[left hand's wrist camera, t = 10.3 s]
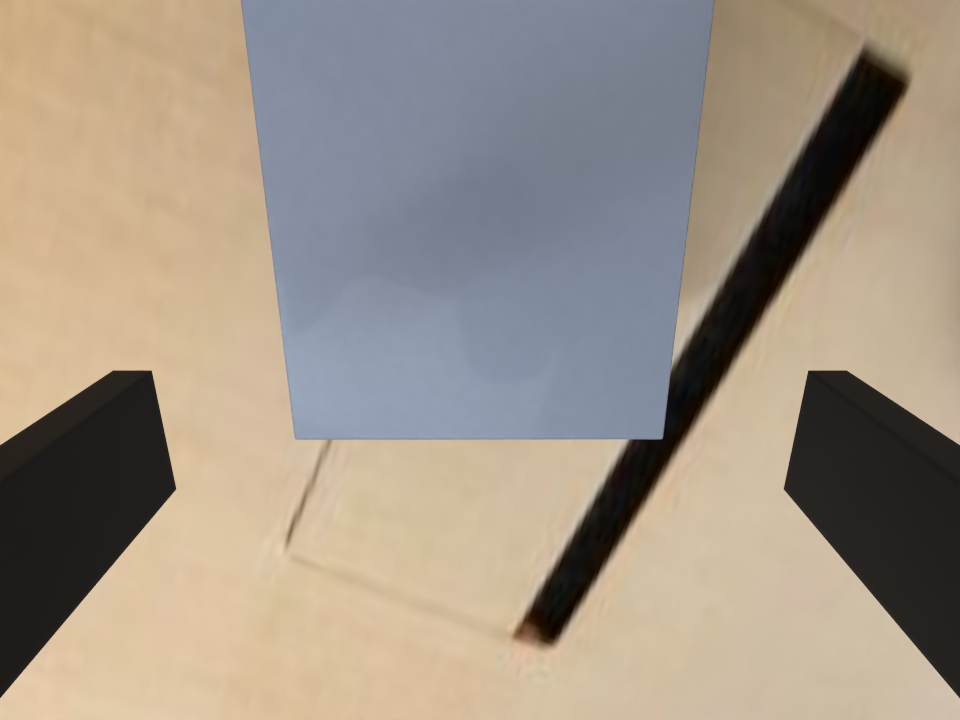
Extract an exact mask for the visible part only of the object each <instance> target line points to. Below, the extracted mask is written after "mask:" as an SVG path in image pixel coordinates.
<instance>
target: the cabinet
mask: <svg viewBox="0 0 960 720" xmlns="http://www.w3.org/2000/svg"><path fill="white" fill-rule="evenodd" d="M714 1H715V0H241V5H242V13H243V21H244V29H245V37H246V45H247V54H248V62H249V70H250V78H251V86H252V94H253V102H254V110H255V118H256V127H257V135H258V143H259V151H260V159H261V167H262V175H263V183H264V191H265V200H266V208H267V216H268V224H269V232H270V240H271V248H272V256H273V264H274V273H275V281H276V289H277V297H278V305H279V313H280V321H281V329H282V337H283V345H284V354H285V362H286V370H287V378H288V386H289V394H290V402H291V410H292V418H293V427H294V435H295V439H297V440H362V439H662V438H663V431H664V423H665V414H666V406H667V397H668V389H669V380H670V372H671V364H672V355H673V347H674V338H675V330H676V321H677V313H678V305H679V296H680V288H681V279H682V271H683V262H684V254H685V246H686V237H687V229H688V220H689V212H690V203H691V195H692V187H693V178H694V170H695V161H696V153H697V144H698V136H699V128H700V119H701V111H702V102H703V94H704V85H705V77H706V69H707V60H708V52H709V43H710V35H711V26H712V18H713V10H714Z"/></svg>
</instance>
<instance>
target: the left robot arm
mask: <svg viewBox="0 0 960 720" xmlns="http://www.w3.org/2000/svg"><path fill="white" fill-rule="evenodd" d="M175 490H176V486H175V481H174V476H173V471H172V466H171V462H170V457H169V452H168V447H167V442H166V438H165V433H164V428H163V423H162V418H161V414H160V409H159V404H158V399H157V394H156V389H155V385H154V380H153V375H152V371H112V372H110V373H109V374H107V375H106V376H104V377H103V378H101V379H100V380H98V381H97V382H95V383H94V384H92V385H91V386H89V387H88V388H86V389H85V390H83V391H82V392H80V393H79V394H77V395H76V396H74V397H73V398H71V399H70V400H68V401H67V402H65V403H64V404H62V405H61V406H59V407H58V408H56V409H54V410H53V411H51V412H50V413H48V414H47V415H45V416H44V417H42V418H41V419H39V420H38V421H36V422H35V423H33V424H32V425H30V426H29V427H27V428H26V429H24V430H23V431H21V432H20V433H18V434H17V435H15V436H14V437H12V438H11V439H9V440H8V441H6V442H5V443H3V444H1V445H0V698H1V697H2V695H3V694H4V693H5V692H6V691H7V689H8V688H9V687H10V686H11V685H12V683H13V682H14V681H15V680H16V679H17V678H18V676H19V675H20V674H21V673H22V672H23V670H24V669H25V668H26V667H27V666H28V664H29V663H30V662H31V661H32V660H33V659H34V657H35V656H36V655H37V654H38V653H39V651H40V650H41V649H42V648H43V647H44V645H45V644H46V643H47V642H48V641H49V640H50V638H51V637H52V636H53V635H54V634H55V632H56V631H57V630H58V629H59V628H60V626H61V625H62V624H63V623H64V622H65V621H66V619H67V618H68V617H69V616H70V615H71V613H72V612H73V611H74V610H75V609H76V607H77V606H78V605H79V604H80V603H81V602H82V600H83V599H84V598H85V597H86V596H87V594H88V593H89V592H90V591H91V590H92V588H93V587H94V586H95V585H96V584H97V583H98V581H99V580H100V579H101V578H102V577H103V575H104V574H105V573H106V572H107V571H108V569H109V568H110V567H111V566H112V565H113V564H114V562H115V561H116V560H117V559H118V558H119V556H120V555H121V554H122V553H123V552H124V550H125V549H126V548H127V547H128V546H129V545H130V543H131V542H132V541H133V540H134V539H135V537H136V536H137V535H138V534H139V533H140V532H141V530H142V529H143V528H144V527H145V526H146V524H147V523H148V522H149V521H150V520H151V518H152V517H153V516H154V515H155V514H156V513H157V511H158V510H159V509H160V508H161V507H162V505H163V504H164V503H165V502H166V501H167V499H168V498H169V497H170V496H171V495H172V494H173V492H174V491H175ZM784 490H785V491H786V492H787V494H788V495H789V496H790V497H791V498H792V499H793V501H794V502H795V503H796V504H797V505H798V507H799V508H800V509H801V510H802V511H803V513H804V514H805V515H806V516H807V517H808V518H809V520H810V521H811V522H812V523H813V524H814V526H815V527H816V528H817V529H818V530H819V532H820V533H821V534H822V535H823V536H824V537H825V539H826V540H827V541H828V542H829V543H830V545H831V546H832V547H833V548H834V549H835V550H836V552H837V553H838V554H839V555H840V556H841V558H842V559H843V560H844V561H845V562H846V564H847V565H848V566H849V567H850V568H851V569H852V571H853V572H854V573H855V574H856V575H857V577H858V578H859V579H860V580H861V581H862V583H863V584H864V585H865V586H866V587H867V588H868V590H869V591H870V592H871V593H872V594H873V596H874V597H875V598H876V599H877V600H878V602H879V603H880V604H881V605H882V606H883V607H884V609H885V610H886V611H887V612H888V613H889V615H890V616H891V617H892V618H893V619H894V621H895V622H896V623H897V624H898V625H899V626H900V628H901V629H902V630H903V631H904V632H905V634H906V635H907V636H908V637H909V638H910V640H911V641H912V642H913V643H914V644H915V645H916V647H917V648H918V649H919V650H920V651H921V653H922V654H923V655H924V656H925V657H926V659H927V660H928V661H929V662H930V663H931V664H932V666H933V667H934V668H935V669H936V670H937V672H938V673H939V674H940V675H941V676H942V678H943V679H944V680H945V681H946V682H947V683H948V685H949V686H950V687H951V688H952V689H953V691H954V692H955V693H956V694H957V695H958V697H959V698H960V445H959V444H957V443H955V442H954V441H952V440H951V439H949V438H948V437H946V436H945V435H943V434H942V433H940V432H939V431H937V430H936V429H934V428H933V427H931V426H930V425H928V424H927V423H925V422H924V421H922V420H921V419H919V418H918V417H916V416H915V415H913V414H912V413H910V412H909V411H907V410H906V409H904V408H902V407H901V406H899V405H898V404H896V403H895V402H893V401H892V400H890V399H889V398H887V397H886V396H884V395H883V394H881V393H880V392H878V391H877V390H875V389H874V388H872V387H871V386H869V385H868V384H866V383H865V382H863V381H862V380H860V379H859V378H857V377H856V376H854V375H853V374H851V373H850V372H848V371H808V375H807V380H806V385H805V389H804V394H803V399H802V404H801V409H800V414H799V418H798V423H797V428H796V433H795V438H794V442H793V447H792V452H791V457H790V462H789V466H788V471H787V476H786V481H785V486H784Z"/></svg>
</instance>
